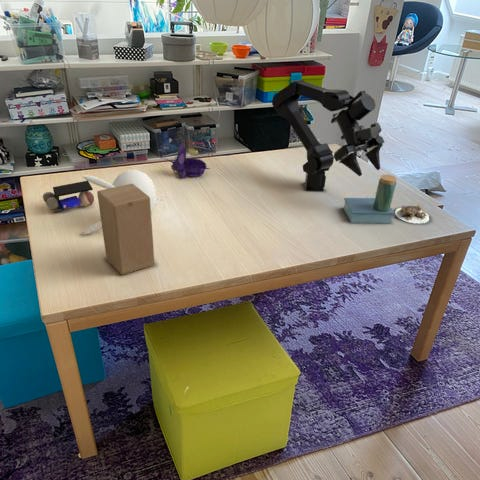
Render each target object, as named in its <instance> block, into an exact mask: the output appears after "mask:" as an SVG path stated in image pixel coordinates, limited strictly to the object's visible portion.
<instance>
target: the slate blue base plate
mask: <svg viewBox="0 0 480 480" xmlns="http://www.w3.org/2000/svg"><path fill="white" fill-rule="evenodd" d="M343 200H344V205H343V210H344V212H345V214H346V216H347V218H348V220H349V222H350V223H351V224H391V223H392V219H393V215H395V211H394V210H393V209H392V208H391V206H390V210H389V211H387V212H380V211H377V210H375V209H374V208H373V204H374V200H375V197H344V199H343Z"/></svg>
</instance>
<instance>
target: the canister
mask: <svg viewBox="0 0 480 480" xmlns="http://www.w3.org/2000/svg"><path fill="white" fill-rule="evenodd" d="M396 186H397V177H396V176H395V175H392V174H381V175H380V177H379V179H378V183H377V187H376V192H375V196H374V198H375V200H374V204H373V208H374V209H375V210H377V211H380V212H387V211H389V210H390V207H391V206H392V202H393V198H394V194H395V190H396Z"/></svg>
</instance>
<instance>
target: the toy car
mask: <svg viewBox="0 0 480 480" xmlns="http://www.w3.org/2000/svg"><path fill="white" fill-rule="evenodd" d="M52 191H53V192H51V191H46V192H44V193H43V195H42V199H43V202H45V205H46V207H47V208H48V209H50V210H55V211H54V213H61V212H63V211H64V210H66V209H70V208H75V207H77V206H84V207H90V206H92V205H93V204H94V202H95V196H94V194H93V193H92V192H91V191H93V187H92V184H91V182H89V181H87V180H84V181H79V182H73V183H72V182H71V183H67V184H63V185H56V186H53V187H52ZM74 194H78V196H77V195H74ZM69 195H71V196H69ZM64 196H68V197H65V198H60V197H64ZM57 209H58V210H57Z"/></svg>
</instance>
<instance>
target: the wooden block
mask: <svg viewBox="0 0 480 480" xmlns="http://www.w3.org/2000/svg"><path fill="white" fill-rule="evenodd" d="M97 202H98V207H99V209H98V210H99V216H100V220H101V223H102V227H101V230H102V237H103V245H104V252H105V258H106V260H107V261H108V262H109V264H111V266H113V268H114V269H115V270H116V271H117V272H118V273H119V274H120V275H121V276H123V275H127V274H130V273H133V272H136V271H140V270H144V269H146V268H151V267H153V266H155V264H156V263H155V252H154V251H155V250H154V248H155V247H154V238H153V237H154V235H153V223H152V222H153V221H152V216H151V205H150V197H149V196H148V195H146V194H145V193H144V192H143V191H141V190H140V189H139V188H138V187H136V186H135V185H134V184H128V185H123V186H118V187H114V188H109V189H106V188H104V189H100V190H97Z"/></svg>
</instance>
